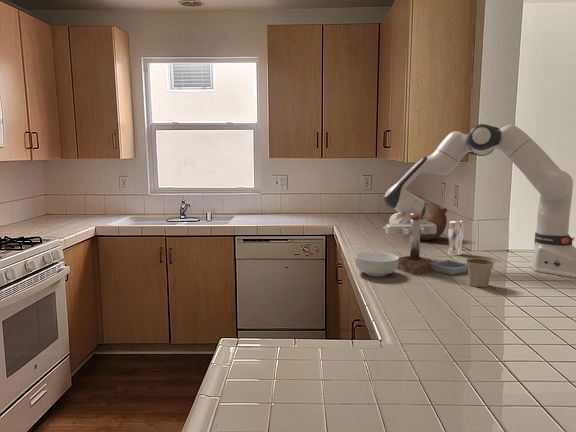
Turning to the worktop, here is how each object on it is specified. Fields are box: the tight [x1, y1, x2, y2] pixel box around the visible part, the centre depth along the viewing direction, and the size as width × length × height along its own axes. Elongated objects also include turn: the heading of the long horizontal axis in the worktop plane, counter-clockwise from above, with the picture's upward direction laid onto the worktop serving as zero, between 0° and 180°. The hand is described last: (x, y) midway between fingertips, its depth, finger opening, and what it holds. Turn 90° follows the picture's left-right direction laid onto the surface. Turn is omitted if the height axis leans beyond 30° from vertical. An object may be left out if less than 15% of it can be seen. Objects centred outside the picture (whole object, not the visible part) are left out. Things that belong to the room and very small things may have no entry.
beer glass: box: [447, 220, 465, 256], centre depth 215 cm, size 7×7×15 cm
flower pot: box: [465, 257, 496, 288], centre depth 166 cm, size 9×9×9 cm
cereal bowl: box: [354, 251, 399, 278], centre depth 182 cm, size 17×17×7 cm
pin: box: [409, 213, 422, 258], centre depth 186 cm, size 5×5×17 cm
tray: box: [429, 259, 468, 277], centre depth 186 cm, size 11×11×2 cm
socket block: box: [396, 255, 431, 274], centre depth 188 cm, size 9×9×4 cm
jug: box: [420, 202, 448, 241], centre depth 255 cm, size 20×20×30 cm
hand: (415, 232), depth 185 cm, fingers closed on pin, 4 cm apart
